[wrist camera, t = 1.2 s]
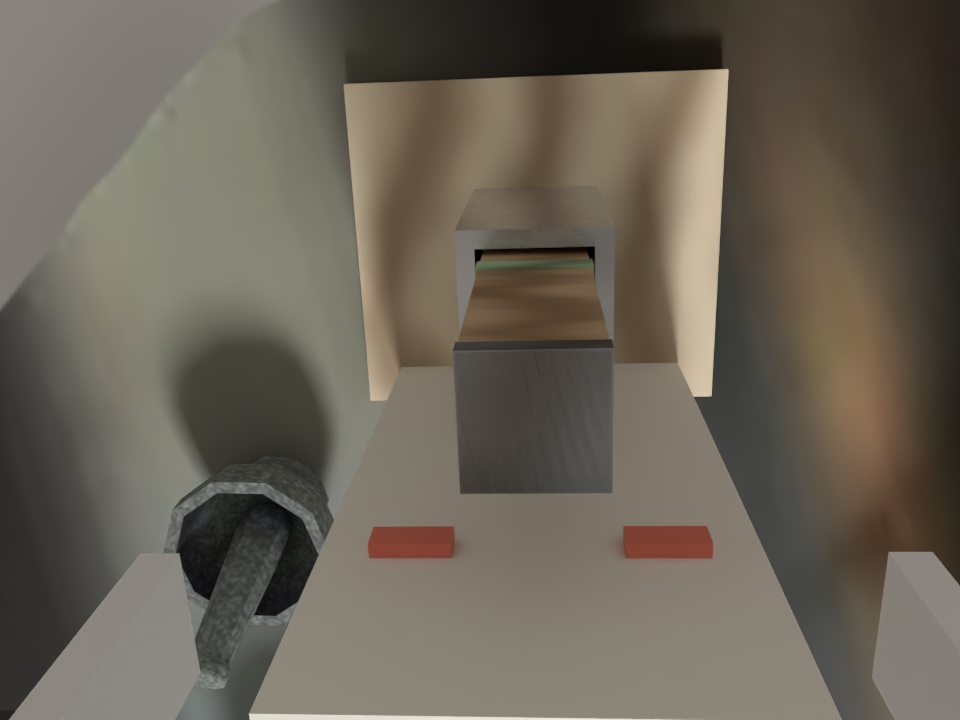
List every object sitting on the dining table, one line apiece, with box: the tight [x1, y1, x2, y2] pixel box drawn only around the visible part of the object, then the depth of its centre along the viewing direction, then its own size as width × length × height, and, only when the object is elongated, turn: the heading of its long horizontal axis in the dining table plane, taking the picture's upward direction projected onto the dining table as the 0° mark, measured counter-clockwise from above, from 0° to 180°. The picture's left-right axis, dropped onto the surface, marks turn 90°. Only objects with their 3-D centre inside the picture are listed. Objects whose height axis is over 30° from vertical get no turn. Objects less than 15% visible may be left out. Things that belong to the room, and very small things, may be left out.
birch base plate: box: [344, 69, 729, 401], centre depth 49 cm, size 20×18×2 cm
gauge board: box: [249, 363, 842, 720], centre depth 37 cm, size 16×2×28 cm, turn 92°
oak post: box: [453, 247, 614, 494], centre depth 36 cm, size 5×5×24 cm
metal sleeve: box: [454, 186, 615, 345], centre depth 42 cm, size 7×7×12 cm
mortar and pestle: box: [164, 456, 334, 690], centre depth 51 cm, size 11×9×12 cm
